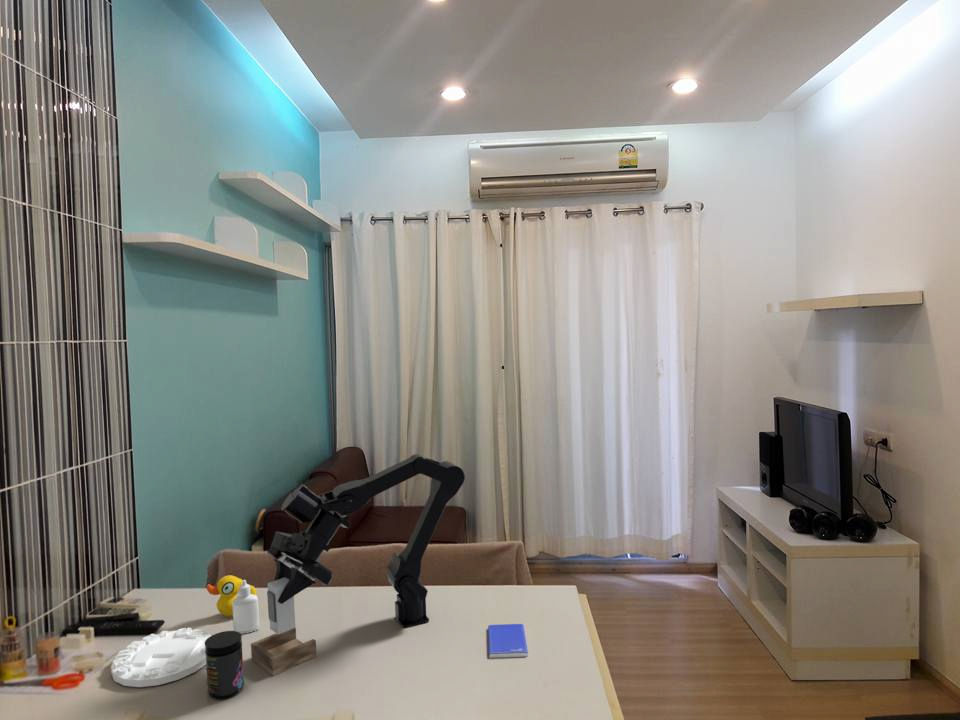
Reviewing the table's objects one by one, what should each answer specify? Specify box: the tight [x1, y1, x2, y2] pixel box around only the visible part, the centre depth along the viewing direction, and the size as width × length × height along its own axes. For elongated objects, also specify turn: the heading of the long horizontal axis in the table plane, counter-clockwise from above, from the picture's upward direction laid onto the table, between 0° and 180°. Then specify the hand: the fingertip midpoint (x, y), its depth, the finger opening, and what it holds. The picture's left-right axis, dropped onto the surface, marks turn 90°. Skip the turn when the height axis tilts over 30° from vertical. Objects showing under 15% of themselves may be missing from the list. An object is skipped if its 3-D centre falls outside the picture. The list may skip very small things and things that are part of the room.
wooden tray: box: [250, 627, 317, 677], centre depth 134 cm, size 10×10×4 cm
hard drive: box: [487, 623, 529, 659], centre depth 138 cm, size 2×8×12 cm
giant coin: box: [110, 627, 212, 688], centre depth 134 cm, size 20×20×3 cm
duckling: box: [206, 574, 258, 618], centre depth 155 cm, size 11×5×10 cm, turn 114°
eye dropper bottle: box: [232, 579, 260, 635], centre depth 147 cm, size 4×6×12 cm
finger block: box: [266, 577, 296, 634], centre depth 133 cm, size 4×4×10 cm
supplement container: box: [205, 630, 245, 700], centre depth 122 cm, size 7×7×10 cm
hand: (275, 600), depth 132 cm, fingers closed on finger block, 3 cm apart
